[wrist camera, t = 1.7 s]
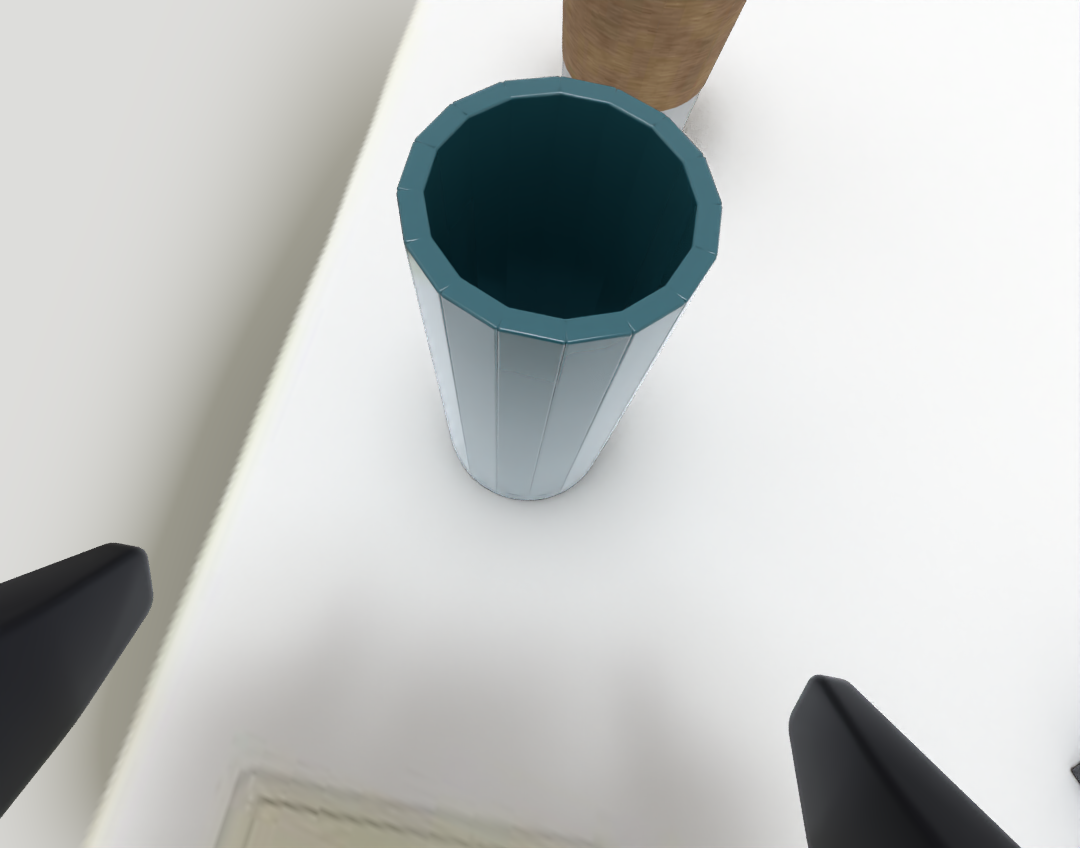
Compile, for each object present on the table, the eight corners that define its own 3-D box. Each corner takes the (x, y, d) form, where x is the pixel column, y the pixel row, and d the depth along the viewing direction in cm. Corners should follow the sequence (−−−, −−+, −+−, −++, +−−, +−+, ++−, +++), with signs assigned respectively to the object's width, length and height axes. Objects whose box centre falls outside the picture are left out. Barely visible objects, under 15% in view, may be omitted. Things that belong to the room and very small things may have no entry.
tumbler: (549, 531, 22) (618, 406, 9) (420, 444, 22) (328, 223, 10) (628, 409, 23) (774, 172, 11) (508, 333, 24) (519, 33, 12)
